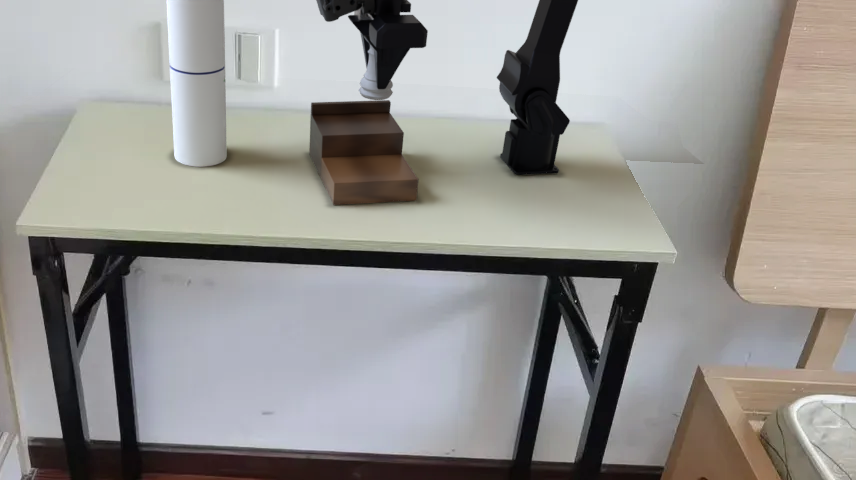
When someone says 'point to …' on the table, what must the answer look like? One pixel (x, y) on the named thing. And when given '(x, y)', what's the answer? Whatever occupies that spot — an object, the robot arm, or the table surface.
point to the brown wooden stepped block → (360, 153)
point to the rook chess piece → (373, 82)
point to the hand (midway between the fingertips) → (376, 82)
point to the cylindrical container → (197, 80)
